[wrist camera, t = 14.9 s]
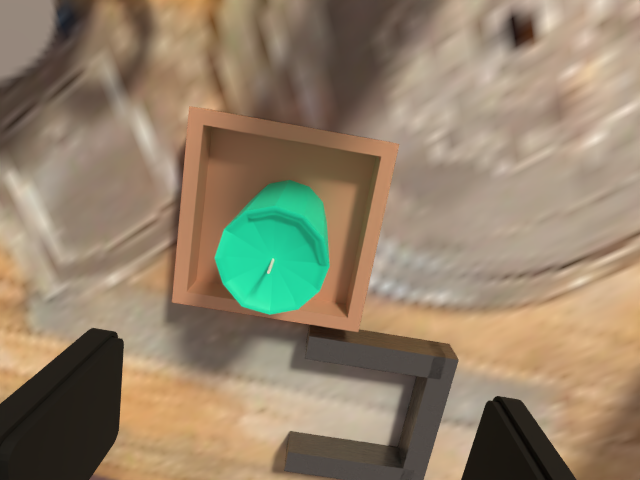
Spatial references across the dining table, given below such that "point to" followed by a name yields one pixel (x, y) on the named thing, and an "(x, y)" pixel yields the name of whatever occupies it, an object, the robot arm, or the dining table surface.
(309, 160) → the tray
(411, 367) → the dock
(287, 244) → the candle
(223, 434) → the dining table surface
